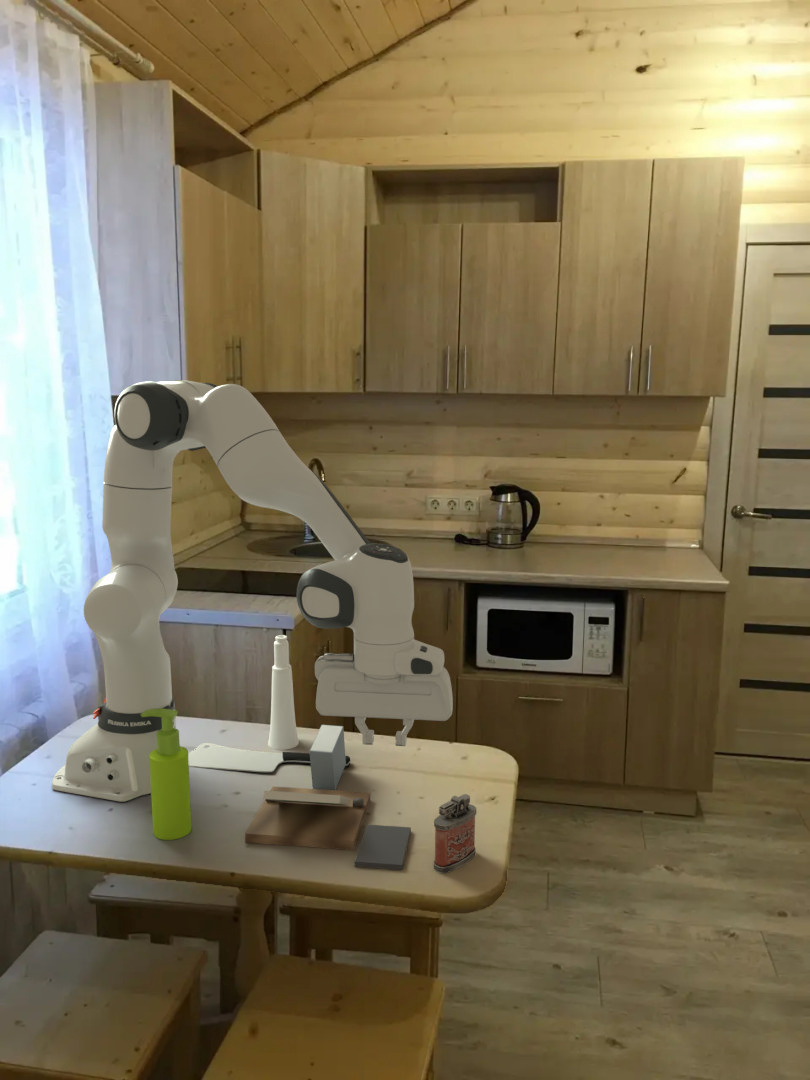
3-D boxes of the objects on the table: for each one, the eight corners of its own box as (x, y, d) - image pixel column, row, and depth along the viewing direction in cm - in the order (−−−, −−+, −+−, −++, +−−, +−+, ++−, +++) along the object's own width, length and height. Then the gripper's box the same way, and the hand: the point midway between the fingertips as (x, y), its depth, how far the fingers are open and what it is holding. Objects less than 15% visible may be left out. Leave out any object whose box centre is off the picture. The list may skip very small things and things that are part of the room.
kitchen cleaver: (175, 760, 164) (200, 738, 174) (176, 769, 165) (201, 746, 174) (337, 775, 157) (353, 751, 166) (337, 784, 157) (354, 759, 167)
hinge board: (245, 842, 138) (244, 825, 138) (272, 794, 154) (272, 779, 153) (353, 850, 136) (353, 833, 136) (370, 800, 152) (370, 785, 151)
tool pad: (354, 866, 132) (354, 861, 131) (367, 829, 142) (367, 824, 142) (401, 869, 131) (401, 864, 131) (410, 832, 142) (410, 827, 141)
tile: (279, 793, 148) (278, 801, 148) (264, 790, 139) (263, 798, 139) (350, 798, 147) (350, 806, 147) (340, 795, 138) (339, 803, 137)
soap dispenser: (156, 819, 145) (150, 702, 141) (197, 823, 144) (192, 705, 140) (140, 837, 139) (133, 716, 136) (182, 841, 138) (176, 719, 135)
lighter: (463, 846, 137) (464, 786, 135) (480, 854, 135) (482, 793, 133) (428, 867, 132) (428, 804, 130) (445, 876, 129) (446, 812, 127)
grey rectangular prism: (309, 750, 153) (321, 724, 160) (312, 789, 156) (324, 761, 163) (332, 752, 152) (343, 726, 159) (335, 791, 155) (345, 763, 162)
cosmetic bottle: (272, 738, 177) (269, 631, 173) (302, 739, 177) (300, 632, 173) (264, 751, 171) (261, 640, 167) (295, 752, 171) (293, 641, 167)
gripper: (309, 659, 129) (311, 749, 132) (451, 664, 127) (450, 756, 129) (319, 646, 135) (320, 732, 138) (454, 651, 133) (453, 738, 135)
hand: (384, 744), depth 133 cm, fingers open, 4 cm apart
